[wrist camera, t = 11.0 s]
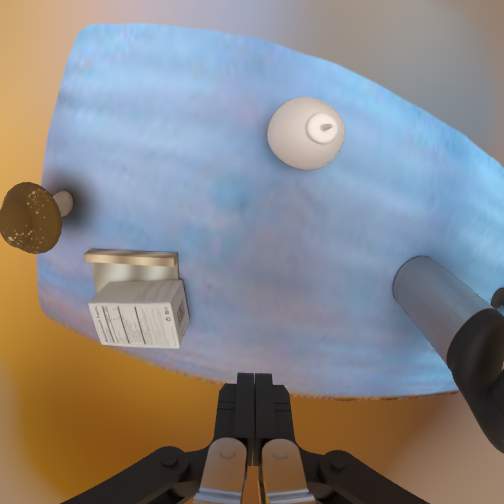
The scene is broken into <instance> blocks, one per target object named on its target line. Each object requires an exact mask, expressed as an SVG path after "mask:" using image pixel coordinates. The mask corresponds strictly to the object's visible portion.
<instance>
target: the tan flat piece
mask: <svg viewBox="0 0 504 504" xmlns="http://www.w3.org/2000/svg"><path fill="white" fill-rule="evenodd" d="M84 260H85V262H91V265H92V272H93V277H94V283H95V289H96V294H97V293H98V292H99V291H100V290H101V289H102V288H103V287H104V286H105V285H106V284H107V283H108V282H126V281H161V280H179V269H178V253H175V252H152V251H129V250H107V249H90V250H89V251H87V252H86V253H84Z"/></svg>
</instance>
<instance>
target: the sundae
mask: <svg viewBox="0 0 504 504" xmlns="http://www.w3.org/2000/svg"><path fill="white" fill-rule="evenodd" d="M501 304H502V305H503V306H504V288H500V289H498V290H497V291H496V292H495V294H494V296H493V298H492V301H491V306H492V307H493V308H495V309H496V308H498V307H499V306H500V305H501Z"/></svg>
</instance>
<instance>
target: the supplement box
mask: <svg viewBox="0 0 504 504" xmlns="http://www.w3.org/2000/svg"><path fill="white" fill-rule="evenodd" d="M88 305H89V308H90V311H91V314H92V318H93V321H94V324H95V327H96V330H97V333H98V336H99V339H100V341H101V344H102V345H113V346H127V347H145V348H174V349H178V348H180V346H181V341H182V338H183V335H184V332H185V330H186V327H187V324H188V322H189V315H188V309H187V304H186V298H185V293H184V287H183V282H182V280H161V281H126V282H108V283H107V284H106V285H105V286H104V287H103V288H102V289H101V290H100V291H99V292H98V293H97V294H96V295H95V296H94V298H93V299H92V300H91V301H90V302H89V303H88Z"/></svg>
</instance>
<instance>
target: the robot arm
mask: <svg viewBox="0 0 504 504" xmlns="http://www.w3.org/2000/svg"><path fill="white" fill-rule="evenodd" d="M393 294H394V298H395V299H396V301H397V302H398V304H399V305H400V306H401V307H402V308H403V310H404V311H405V312H406V314H407V315H408V316H409V317H410V318H411V320H412V321H413V322H414V323H415V325H416V326H417V327H418V328H419V330H420V331H421V332H422V333H423V335H424V336H425V337H426V339H427V340H428V341H429V342H430V344H431V345H432V346H433V348H434V349H435V350H436V352H437V353H438V354H439V355H440V357H441V358H442V359H443V361H444V362H445V363H446V365H447V366H448V368H449V369H450V370H451V372H452V375H453V379H454V381H455V383H456V385H457V386H458V388H459V390H460V391H461V393H462V394H463V396H464V398H465V400H466V401H467V403H468V405H469V407H470V409H471V411H472V412H473V414H474V416H475V418H476V420H477V422H478V424H479V425H480V427H481V429H482V431H483V432H484V434H485V435H486V437H487V438H488V440H489V441H490V442H491V444H492V445H493V446H494V447H495V448H496V449H497V450H499V451H500V452H502V453H504V369H503V371H502V366H503V362H504V316H503V315H502V314H500V313H499V312H498V311H497V310H496V309H495V308H493V307H492V306H491V305H490V304H489V303H488V302H486V301H485V300H484V299H483V298H481V297H480V296H479V295H478V294H476V293H475V292H474V291H473V290H472V289H471V288H470V287H468V286H467V285H466V284H465V283H463V282H462V281H461V280H459V279H458V278H457V277H456V276H454V275H453V274H452V273H450V272H449V271H448V270H446V269H445V268H444V267H442V266H441V265H439V264H438V263H436V262H435V261H433V260H432V259H431V258H429V257H426V256H419V257H415V258H413V259H411V260H409V261H408V262H406V263H405V264H404V265H403V266H402V267H401V269H400V270H399V271H398V273H397V275H396V277H395V280H394V284H393ZM252 454H253V466H258V470H259V471H258V489H259V498H260V504H430V503H427V502H426V501H424V500H422V499H420V498H419V497H417V496H415V495H414V494H411V493H410V492H408V491H407V490H405V489H403V488H402V487H400V486H398V485H397V484H395V483H393V482H392V481H390V480H389V479H387V478H385V477H384V476H382V475H380V474H379V473H378V472H376V471H375V470H373V469H371V468H370V467H368V466H367V465H365V464H364V463H362V462H361V461H360V460H358V459H356V458H355V457H354V456H352V455H351V454H349V453H348V452H345V451H342V450H335V451H330V452H328V453H326V454H325V455H320V454H315V453H310V452H307V451H305V450H303V449H302V448H300V447H299V446H298V444H297V443H296V441H295V437H294V429H293V421H292V413H291V405H290V397H289V392H288V391H287V390H286V388H285V387H284V385H273V383H272V374H264V373H255V383H254V373H238V375H237V384H227V383H225V384H224V386H223V387H222V389H221V390H220V391H219V398H218V406H217V415H216V423H215V431H214V438H213V440H212V442H211V443H210V444H209V445H208V446H207V447H206V448H204V449H201V450H198V451H192V452H185V453H184V452H183V451H182V450H181V449H179V448H176V447H172V446H166V447H162V448H159V449H157V450H156V451H154V452H153V453H151V454H150V455H148V456H146V457H145V458H143V459H142V460H140V461H138V462H137V463H135V464H133V465H132V466H130V467H128V468H127V469H125V470H123V471H122V472H120V473H118V474H116V475H115V476H113V477H111V478H110V479H108V480H106V481H104V482H102V483H100V484H99V485H97V486H95V487H93V488H91V489H89V490H87V491H85V492H83V493H81V494H79V495H77V496H75V497H73V498H71V499H69V500H67V501H65V502H63V503H61V504H184V503H185V502H186V501H188V500H189V499H190V498H192V497H193V496H195V498H194V502H193V504H242V499H243V492H244V483H245V481H246V477H247V466H251V465H252Z"/></svg>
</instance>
